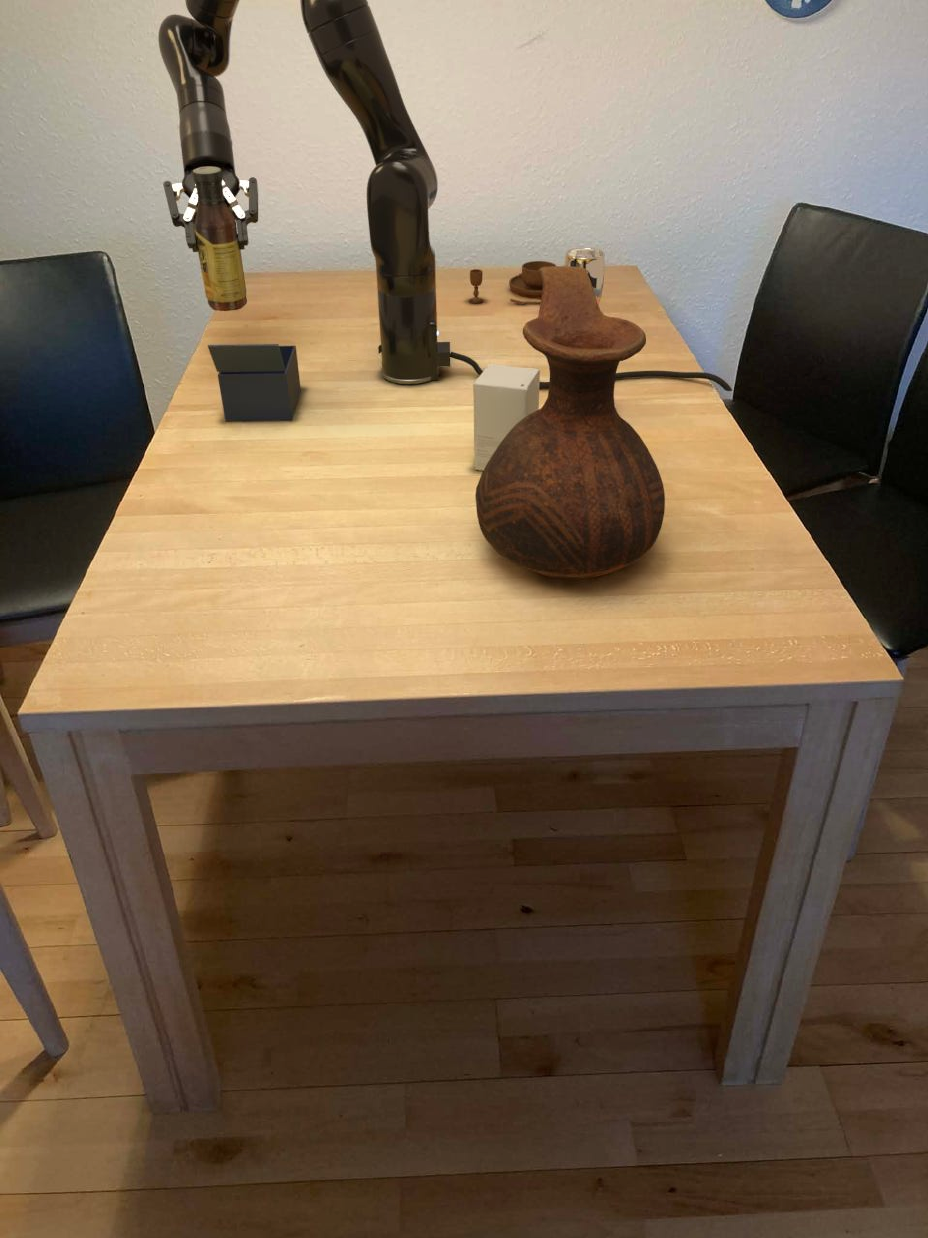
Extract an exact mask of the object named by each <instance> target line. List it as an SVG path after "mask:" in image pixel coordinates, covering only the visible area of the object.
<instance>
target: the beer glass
mask: <svg viewBox="0 0 928 1238" xmlns="http://www.w3.org/2000/svg"><path fill="white" fill-rule="evenodd" d="M564 259H565V260H564V266H569V267H582V268H585V269H586V271H587V273H588V276H589V278H590V281H591V284H592V287H593V290H594V293H595V297H596V300H597V303H598V306H599V307H600V303H601V302H600V301H601V298H602V293H603V288H604V281H605V252H604V250H601V249H598V248H593V247H575V248H571V249H568V250H566V251H565V258H564Z"/></svg>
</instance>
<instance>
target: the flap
mask: <svg viewBox="0 0 928 1238" xmlns="http://www.w3.org/2000/svg"><path fill="white" fill-rule="evenodd" d="M279 346H280V345H279V343H255V344H254V343H248V344H247V343H246V344H245V343H243V344H240V343H239V344H237V343H236V344H207V350H208V351H209V354H210V357H211V360H212V362H213V364H214V367H215V370H216V372H217V373H219V372H257V371H285V367H284V363H283V359H282V356H281V352H280V348H279Z"/></svg>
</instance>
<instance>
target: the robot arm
mask: <svg viewBox="0 0 928 1238" xmlns="http://www.w3.org/2000/svg"><path fill="white" fill-rule="evenodd" d="M240 1H241V0H185V6H186V9H187V11H188V13H189V15H190V16H191V17H192V18H191V17H188V16H185V15H181V14H173V13H172V14H170V15H169V14H168V16H165V18H164V19H163V20H162V22H161V23H160V26H159V29H158V36H157V38H158V48H159V53H160V56H161V59H162V62H163V64H164V67H165V69H166V71H167V73H168V75H169V78H170V80H171V83H172V86H173V88H174V90H175V93H176V99H177V106H178V116H179V125H178V126H179V127H178V129H179V138H180V139H179V141H180V149H181V159H182V167H183V178H182V181H181V182H177V183H172V182H171V181H169V180H165V181H164V182H163V185H162V186H163V189H164V193H165V198H166V202H167V207H168V211H169V214H170V218H171V222H172V225H173V226H174V227H175V228H179V227H182V228H183V229H184V233H185V235H184V236H185V242H186V245H187V247H188V249H192V252H193V253H198V248H197V242H196V236H195V230H194V226H195V220H196V214H197V208H198V195H197V188H196V183H195V181H194V178H193V170H194V169H197V168H200V167H208V166H210V167H211V166H212V167H218V168H220V169H221V172H222V178H223V179H222V187H223V194H224V197H225V201H224V202H225V203H226V205H227V206H228V208H229V209H230V210H231V211H232V213H233V215H234V217H235V221H236V228H237V234H238V239H239V246H240V250H241V251H242V250H243V251H244V250H245V249H246V247H245V246H248V245H249V243H250V241H249V235H248V234H249V233H248V225H249V224H257V223H258V221H259V187H258V179H257V178H256V177H254V176H251V177H249V179H248V180H245V179H244V180H242V179H239V177H238V176H237V175H236V168H235V167H236V166H235V159H234V150H233V140H232V134H231V128H230V124H229V121H228V116H227V107H226V98H225V92H224V91H225V90H224V87H223V85H222V83H221V82H220V80H219V79H218V77H220V76H222V75H223V74H225V73H226V71H227V70H228V68H229V66H230V61H231V39H232V38H231V37H232V29H233V28H232V27H233V21H234V17H235V14H236V11H237V10H238V7H239V3H240ZM299 3H300V13H301V18H302V21H303V25H304V28H305V31H306V33H307V36H308V38H309V40H310V43H311V45H312V48H313V50H314V52H315V55H316V57H317V59H318V62H319V64H320V66H321V68H322V70H323V72H324V74H325V76H326V78H327V79H328V81H329V82H330V84H331V86H332V87H333V88H334V89H335V91H336V92H337V93H338V96H339V97H340V98H341V99H342V101H343V102H344V103H345V105H346V106H347V107H348V109H349V110H350V111H351V113H352V114H353V116H354V117H355V119H356V121H357V122H358V124H359V126H360V128H361V129H362V132H363V134H364V136H365V139H366V141H367V144H368V146H369V149H370V152H371V154H372V157H373V161H374V164H375V167H374V168H373V169H372V170H371V172H370V174H369V176H368V180H367V184H366V210H367V211H366V213H367V223H368V233H369V242H370V247H371V252H372V254H373V257H374V260H375V273H376V289H377V290H376V291H377V305H378V323H379V338H380V344H379V345H378V347H377V350H378V351H377V352H378V355H380V356H381V376H382V377H383V379H385V380H386V381H388V382H391V383H394V384H400V385H418V384H424V383H427V382H430V381H438V380H439V368H443V367H444V368H445V367H446V368H447V367H449V368H450V367H451V359H454V360H457V361H461V362H463V363H466V364H468V365H470V366H471V367H472V368H473V370H474V372H475V373H476V374H477V375H478V377H479V376H480V375H481V374H482V372H483V371H484V370H483V369H482V368H481V367H480V365H479V364H478V362H476V360H474V359H473V358H471V357H469V356H467V355H464V354H461V353H457V352H454V351H451V341H438V336H439V330H438V312H437V281H436V279H437V278H436V277H437V276H436V275H437V274H436V250H435V248H434V247H433V245H432V244H431V240H430V223H429V221H430V220H429V209H430V208H431V207H432V206H433V204H434V203H435V200H436V198H437V195H438V188H439V179H438V175H437V172H436V168H435V166H434V164H433V161H432V159H431V158H430V155H429V154H428V151H427V149H426V147H425V146H424V145H425V144H424V143H423V141H422V139H421V138H420V136H419V134H418V132H417V129H416V127H415V125H414V123H413V121H412V119H411V117H410V115H409V112H408V110H407V107H406V105H405V103H404V99H403V97H402V93H401V90H400V87H399V84H398V81H397V78H396V75H395V72H394V70H393V67H392V65H391V62H390V59H389V57H388V54H387V51H386V48H385V45H384V42H383V40H382V39H383V38H382V37H381V33H380V31H379V28H378V25H377V22H376V20H375V17H374V14H373V11H372V9H371V7H370V5H369V1H368V0H299ZM240 191H243V193H244V196H246V197H247V198H248V209H247V210H243V208H242V207H241V205H240V204H239V202H238V200H237V198H236V197H237V196H238V194H239V192H240ZM183 193H184V194H185V195H186V196H187V197H188V198H189V199H188V202H187V208H186V210H185V212H184V214H183V213H180V212H179V207H178V203H177V202H178V201H179V200H180V199H181V195H182V194H183ZM649 377H650V378H652V377H653V378H654V377H657V378H672V379H673V378H674V379H701V380H702V379H704V380H709V381H712V382H714V383H716V384H717V385H719V386H720V387H721V388H722V389H723V390H724V391H726V392H732V391H733V388H732V387H731V386H730V385H729V383H728V382H727V381H725V379H723V378H721V377H720V376H718V375H716V374H713V373H710V372H703V371H689V372H688V371H671V370H633V371H621V372H616V376H615V380H621V379H630V378H649ZM539 389H549V381H539Z"/></svg>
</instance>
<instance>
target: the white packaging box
mask: <svg viewBox="0 0 928 1238" xmlns="http://www.w3.org/2000/svg"><path fill="white" fill-rule="evenodd" d="M482 371H483V372H482V374H481V375H480V376H479V375H478V377H477V378H476V379H475V380H474V382H473V383H472V392H473V394H472V395H473V453H474V456H473V457H474V461H473V462H474V470H475V471H481V472H483V471H484V469H485V467H486V465H487V463H488V461H489V460H490V458H491V457H492V455H493V453H494V452H495V450H496V449H497V447H498V446H499V444H500V443H501V442H502V440H503V439H504V438H505V437H506V435H507V434H508V433H509V431H510V430H511V429H512V428H513V427H514V426H515V425H516V424H517V423H518V422H519V421H521V420H522V419H523V418H525V416H528V415H529V414H530V413H533V412H535V411H537V410H539V409H540V388H539V382H541V381H540V379H541V378H540V376H541V370H540V368H532V367H522V366H513V365H504V364H498V363H497V364H495V363H489V364H488V365H487V366H486V367H485V368H484V370H482Z"/></svg>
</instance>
